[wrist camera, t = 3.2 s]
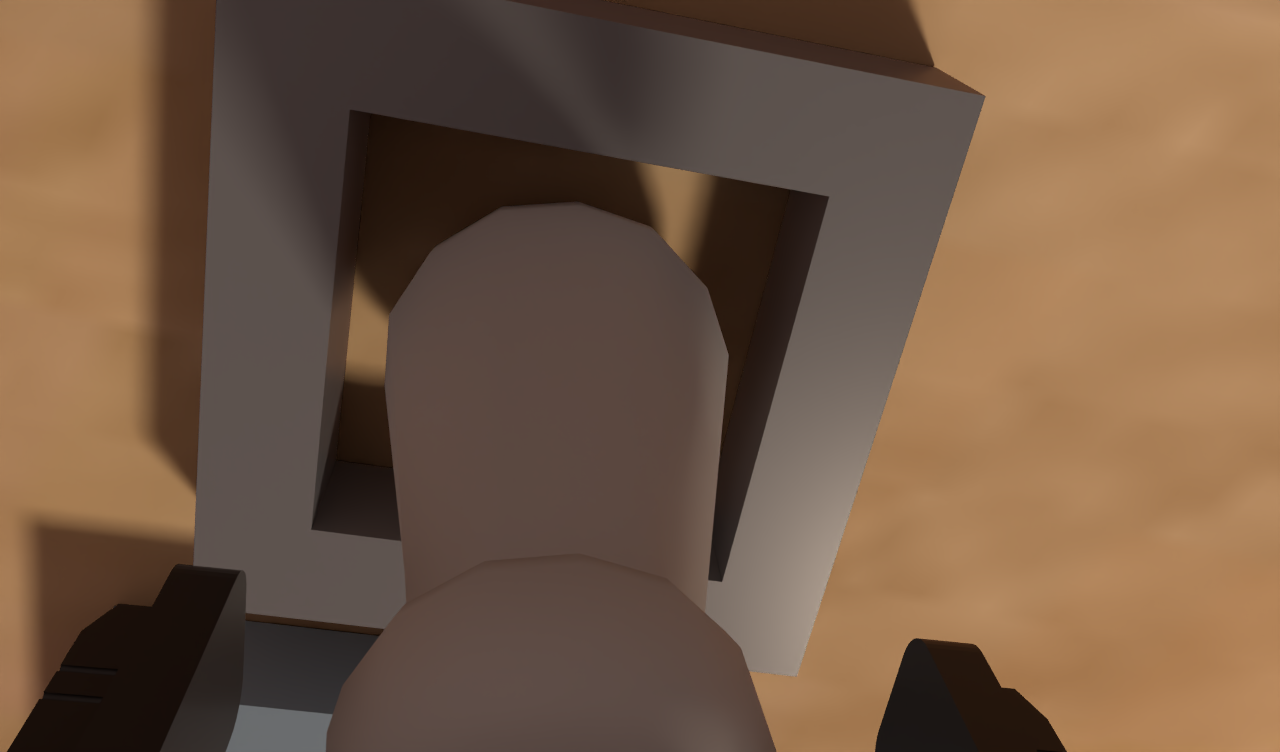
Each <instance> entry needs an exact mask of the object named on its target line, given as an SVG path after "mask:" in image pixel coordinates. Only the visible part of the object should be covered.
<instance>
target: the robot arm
mask: <svg viewBox="0 0 1280 752" xmlns="http://www.w3.org/2000/svg"><path fill="white" fill-rule="evenodd" d="M246 585H247V583H246V574H245V572H244V571H243V570H233V569H223V568H212V567H202V566H192V565H182V564H177V565H176V566H175V567H174V568H173V569H172V571H171V573H170V574H169V576H168V578H167V580H166V582H165V584H164V586H163V587H162V589H161V591H160V593H159V595H158V597H157V598H156V600H155V602H154V604H153V606H152V607H147V606H137V605H126V604H118V605H117V606H115V607H114V608H113V609H111V610H110V611H108V612H107V613H106V614H104V615H103V616H102V617H100V618H99V619H97V620H96V621H95V622H93V623H92V624H91V625H89V626H88V627H86V628H85V629H84V630H82V631H81V633H80V634H79V636H78V638H77V639H76V641H75V642H74V644H73V646H72V647H71V649H70V650H69V652H68V654H67V655H66V657H65V659H64V660H63V662H62V663H61V668H60V671H57V672H56V673H55V675H54V676H53V678H52V680H51V681H50V683H49V685H48V686H47V688H46V689H45V691H44V695H43V699H39V701H38V702H37V704H36V706H35V707H34V709H33V710H32V712H31V714H30V715H29V717H28V719H27V720H26V722H25V723H24V725H23V727H22V728H21V730H20V732H19V733H18V735H17V736H16V738H15V740H14V741H13V743H12V744H11V746H10V748H9V749H8V751H7V752H226V750H227V747H228V744H229V741H230V739H231V736H232V733H233V730H234V726H235V723H236V719H237V714H238V710H239V704H240V699H241V692H242V683H243V666H244V640H245V614H246ZM875 752H1067V751H1066V750H1065V748H1064V746H1063V745H1062V743H1061V741H1060V740H1059V738H1058V736H1057V735H1056V733H1055V731H1054V729H1053V728H1052V726H1051V724H1050V723H1049V721H1048V719H1047V718H1046V717H1045V716H1043V715H1042V714H1041V713H1040V712H1039V711H1038V710H1037V709H1036V708H1035V707H1034V706H1033V705H1032V704H1030V703H1029V702H1028V701H1027V700H1026V699H1025V698H1024V697H1023V696H1022V695H1021V694H1020V693H1019V692H1017V691H1016V690H1015V689H1010V688H1001V686H1000V684H999V682H998V680H997V679H996V677H995V675H994V673H993V671H992V670H991V668H990V666H989V664H988V663H987V661H986V659H985V657H984V655H983V654H982V652H981V650H980V649H979V648H978V647H977V646H976V645H974V644H969V643H958V642H948V641H938V640H928V639H917V638H916V639H913V640H912V641H911V642H910V643H909V644H908V646H907V648H906V650H905V653H904V655H903V658H902V662H901V665H900V668H899V671H898V674H897V677H896V680H895V683H894V686H893V689H892V692H891V695H890V698H889V701H888V704H887V707H886V710H885V714H884V717H883V720H882V723H881V726H880V729H879V732H878V736H877V741H876V748H875Z"/></svg>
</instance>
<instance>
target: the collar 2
mask: <svg viewBox="0 0 1280 752" xmlns="http://www.w3.org/2000/svg"><path fill="white" fill-rule="evenodd" d="M984 99H985V96H984V95H983V94H981V93H979V92H978V91H976V90H974V89H972V88H971V87H969V86H967V85H965V84H964V83H962V82H960V81H958V80H957V79H955V78H953V77H951V76H950V75H948V74H946V73H944V72H943V71H941V70H939V69H937V68H935V67H930V66H925V65H920V64H915V63H910V62H905V61H900V60H895V59H890V58H885V57H880V56H875V55H871V54H866V53H861V52H856V51H851V50H846V49H841V48H836V47H831V46H826V45H821V44H816V43H811V42H806V41H801V40H796V39H791V38H786V37H781V36H777V35H772V34H767V33H762V32H757V31H752V30H747V29H742V28H737V27H732V26H727V25H722V24H717V23H712V22H707V21H702V20H697V19H692V18H688V17H683V16H678V15H673V14H668V13H663V12H658V11H653V10H648V9H643V8H638V7H633V6H628V5H623V4H618V3H613V2H608V1H603V0H216V22H215V46H214V71H213V95H212V120H211V144H210V169H209V193H208V218H207V242H206V267H205V291H204V316H203V340H202V365H201V389H200V414H199V438H198V463H197V487H196V512H195V537H194V561H193V566H202V567H212V568H223V569H233V570H243V571H244V572H245V574H246V583H247V585H246V613H251V614H259V615H268V616H277V617H285V618H294V619H303V620H311V621H320V622H329V623H337V624H346V625H355V626H363V627H372V628H380V629H385V628H386V627H387V625H388V624H389V623H390V621H391V620H392V619H393V617H394V616H395V615H396V614H397V613H398V612H399V610H400V609H401V608H402V607H403V606H404V605H405V604H406V589H405V572H404V562H403V553H402V543H401V534H400V525H399V515H398V506H397V497H396V487H395V478H394V469H393V468H387V467H380V466H372V465H365V464H358V463H350V462H343V461H336V457H337V446H338V436H339V426H340V416H341V406H342V396H343V386H344V376H345V366H346V356H347V346H348V336H349V326H350V316H351V306H352V296H353V286H354V276H355V266H356V256H357V246H358V236H359V226H360V216H361V206H362V196H363V185H364V175H365V165H366V155H367V145H368V135H369V125H370V115H371V113H373V114H378V115H384V116H389V117H395V118H400V119H406V120H411V121H417V122H422V123H428V124H433V125H439V126H444V127H450V128H455V129H461V130H466V131H472V132H477V133H483V134H488V135H494V136H499V137H505V138H510V139H516V140H521V141H527V142H532V143H538V144H543V145H549V146H554V147H560V148H565V149H571V150H576V151H582V152H587V153H593V154H598V155H604V156H609V157H615V158H620V159H626V160H631V161H637V162H642V163H648V164H653V165H659V166H664V167H670V168H675V169H681V170H686V171H692V172H697V173H703V174H708V175H714V176H719V177H725V178H730V179H736V180H741V181H747V182H752V183H758V184H763V185H769V186H774V187H780V188H785V189H791V190H790V193H789V197H788V201H787V205H786V209H785V212H784V216H783V220H782V224H781V228H780V231H779V235H778V239H777V243H776V247H775V250H774V254H773V258H772V262H771V266H770V270H769V273H768V277H767V281H766V285H765V289H764V292H763V296H762V300H761V304H760V308H759V311H758V315H757V319H756V323H755V327H754V331H753V334H752V338H751V342H750V346H749V350H748V353H747V357H746V361H745V365H744V369H743V372H742V376H741V380H740V384H739V388H738V391H737V395H736V399H735V403H734V407H733V411H732V414H731V418H730V422H729V426H728V430H727V433H726V437H725V441H724V445H723V449H722V452H721V456H720V460H719V466H718V477H717V488H716V499H715V510H714V520H713V531H712V542H711V553H710V564H709V574H708V585H707V596H706V607H705V613H706V614H707V615H708V616H709V617H710V618H711V619H712V620H713V621H715V622H716V623H717V624H718V625H719V626H720V627H721V628H722V629H723V630H724V631H726V632H727V634H728V635H729V636H730V637H731V638H732V639H733V640H734V641H735V642H736V643H737V644H738V645H739V646H740V647H741V649H742V652H743V655H744V658H745V661H746V664H747V667H748V670H749V671H752V672H761V673H769V674H778V675H787V676H795V677H797V674H798V671H799V668H800V665H801V662H802V659H803V656H804V653H805V650H806V647H807V644H808V641H809V637H810V634H811V631H812V628H813V625H814V622H815V619H816V616H817V613H818V610H819V607H820V604H821V601H822V598H823V594H824V591H825V588H826V585H827V582H828V579H829V576H830V573H831V570H832V567H833V564H834V561H835V558H836V554H837V551H838V548H839V545H840V542H841V539H842V536H843V533H844V530H845V527H846V524H847V521H848V518H849V514H850V511H851V508H852V505H853V502H854V499H855V496H856V493H857V490H858V487H859V484H860V481H861V478H862V474H863V471H864V468H865V465H866V462H867V459H868V456H869V453H870V450H871V447H872V444H873V441H874V438H875V435H876V431H877V428H878V425H879V422H880V419H881V416H882V413H883V410H884V407H885V404H886V401H887V398H888V395H889V391H890V388H891V385H892V382H893V379H894V376H895V373H896V370H897V367H898V364H899V361H900V358H901V355H902V351H903V348H904V345H905V342H906V339H907V336H908V333H909V330H910V327H911V324H912V321H913V318H914V315H915V311H916V308H917V305H918V302H919V299H920V296H921V293H922V290H923V287H924V284H925V281H926V278H927V275H928V271H929V268H930V265H931V262H932V259H933V256H934V253H935V250H936V247H937V244H938V241H939V238H940V235H941V232H942V228H943V225H944V222H945V219H946V216H947V213H948V210H949V207H950V204H951V201H952V198H953V195H954V192H955V188H956V185H957V182H958V179H959V176H960V173H961V170H962V167H963V164H964V161H965V158H966V155H967V152H968V148H969V145H970V142H971V139H972V136H973V133H974V130H975V127H976V124H977V121H978V118H979V115H980V112H981V108H982V105H983V102H984Z"/></svg>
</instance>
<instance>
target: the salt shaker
mask: <svg viewBox="0 0 1280 752" xmlns="http://www.w3.org/2000/svg"><path fill="white" fill-rule="evenodd" d="M728 358H729V355H728V351H727V348H726V345H725V342H724V339H723V336H722V332H721V329H720V326H719V323H718V320H717V317H716V313H715V310H714V307H713V304H712V301H711V298H710V294H709V291H708V288H707V287H706V286H705V285H704V284H703V283H702V282H701V280H700V279H699V278H698V277H697V276H696V275H695V274H694V273H693V272H692V271H691V269H690V268H689V267H688V266H687V265H686V264H685V263H684V262H683V261H682V260H681V258H680V257H679V256H678V255H677V254H676V253H675V252H674V251H673V250H672V249H671V248H670V246H669V245H668V244H667V243H666V242H665V241H664V240H663V239H662V238H661V237H660V235H659V234H658V233H657V232H656V231H655V230H654V229H653V228H652V227H651V226H648V225H645V224H642V223H639V222H636V221H633V220H630V219H627V218H625V217H622V216H619V215H616V214H613V213H610V212H607V211H604V210H601V209H599V208H596V207H593V206H590V205H587V204H584V203H581V202H562V203H547V204H531V205H516V206H502V207H500V208H498V209H497V210H495V211H493V212H492V213H490V214H488V215H486V216H485V217H483V218H481V219H480V220H478V221H476V222H475V223H473V224H471V225H470V226H468V227H466V228H465V229H463V230H461V231H460V232H458V233H456V234H455V235H453V236H451V237H450V238H448V239H446V240H445V241H443V242H441V243H439V244H438V245H436V246H435V247H434V249H433V250H432V251H431V252H430V253H429V255H428V256H427V258H426V259H425V261H424V262H423V264H422V265H421V267H420V268H419V270H418V271H417V273H416V274H415V276H414V277H413V279H412V281H411V282H410V284H409V285H408V287H407V288H406V290H405V291H404V293H403V294H402V296H401V297H400V299H399V300H398V302H397V303H396V305H395V306H394V308H393V309H392V311H391V312H390V314H389V326H388V341H387V356H386V371H385V394H386V404H387V413H388V422H389V432H390V441H391V450H392V460H393V469H394V478H395V487H396V497H397V506H398V515H399V525H400V534H401V543H402V553H403V562H404V572H405V589H406V604H405V605H404V606H403V607H402V608H401V609H400V610H399V612H398V613H397V614H396V615H395V616H394V617H393V619H392V620H391V621H390V623H389V624H388V625H387V627H386V628H385V629H384V631H383V632H382V633H381V635H380V636H379V637H378V639H377V640H376V641H375V643H374V644H373V645H372V647H371V648H370V649H369V651H368V652H367V653H366V655H365V656H364V657H363V659H362V660H361V661H360V663H359V664H358V665H357V667H356V668H355V669H354V671H353V672H352V673H351V675H350V676H349V677H348V679H347V680H346V681H345V683H344V684H343V686H342V688H341V691H340V694H339V697H338V700H337V703H336V706H335V709H334V712H333V715H332V718H331V721H330V724H329V727H328V730H327V736H326V752H776V749H775V746H774V743H773V740H772V737H771V734H770V731H769V728H768V725H767V723H766V720H765V717H764V714H763V711H762V708H761V705H760V702H759V699H758V696H757V693H756V690H755V687H754V684H753V682H752V679H751V676H750V673H749V670H748V667H747V664H746V661H745V658H744V655H743V652H742V649H741V647H740V646H739V645H738V644H737V643H736V642H735V641H734V640H733V639H732V638H731V637H730V636H729V635H728V634H727V632H726V631H724V630H723V629H722V628H721V627H720V626H719V625H718V624H717V623H716V622H715V621H713V620H712V619H711V618H710V617H709V616H708V615H707V614H706V613H705V607H706V596H707V585H708V574H709V564H710V553H711V542H712V531H713V520H714V510H715V499H716V488H717V477H718V466H719V456H720V445H721V434H722V423H723V412H724V402H725V391H726V380H727V369H728Z"/></svg>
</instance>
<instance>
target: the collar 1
mask: <svg viewBox="0 0 1280 752" xmlns="http://www.w3.org/2000/svg"><path fill="white" fill-rule="evenodd" d="M114 607H115V606H114ZM114 607H113V608H114ZM378 637H379V636H375V635H366V634H357V633H348V632H340V631H331V630H322V629H314V628H305V627H296V626H287V625H279V624H270V623H261V622H253V621H245V640H244V666H243V683H242V692H241V699H240V704H239V710H238V714H237V719H236V723H235V726H234V730H233V733H232V736H231V739H230V741H229V744H228V747H227V750H226V752H326V736H327V730H328V727H329V724H330V721H331V718H332V715H333V712H334V709H335V706H336V703H337V700H338V697H339V694H340V691H341V688H342V686H343V684H344V683H345V681H346V680H347V679H348V677H349V676H350V675H351V673H352V672H353V671H354V669H355V668H356V667H357V665H358V664H359V663H360V661H361V660H362V659H363V657H364V656H365V655H366V653H367V652H368V651H369V649H370V648H371V647H372V645H373V644H374V643H375V641H376V640H377V639H378Z"/></svg>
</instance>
